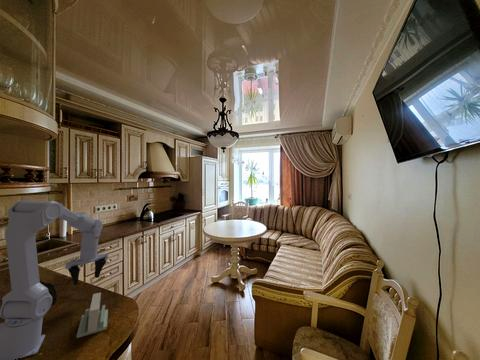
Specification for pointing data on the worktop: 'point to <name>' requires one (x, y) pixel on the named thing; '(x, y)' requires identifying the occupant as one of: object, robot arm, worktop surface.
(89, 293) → the worktop surface
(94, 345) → the worktop surface
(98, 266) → the robot arm
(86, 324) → the rack
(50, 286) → the decorative element
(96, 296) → the beige rectangular block
